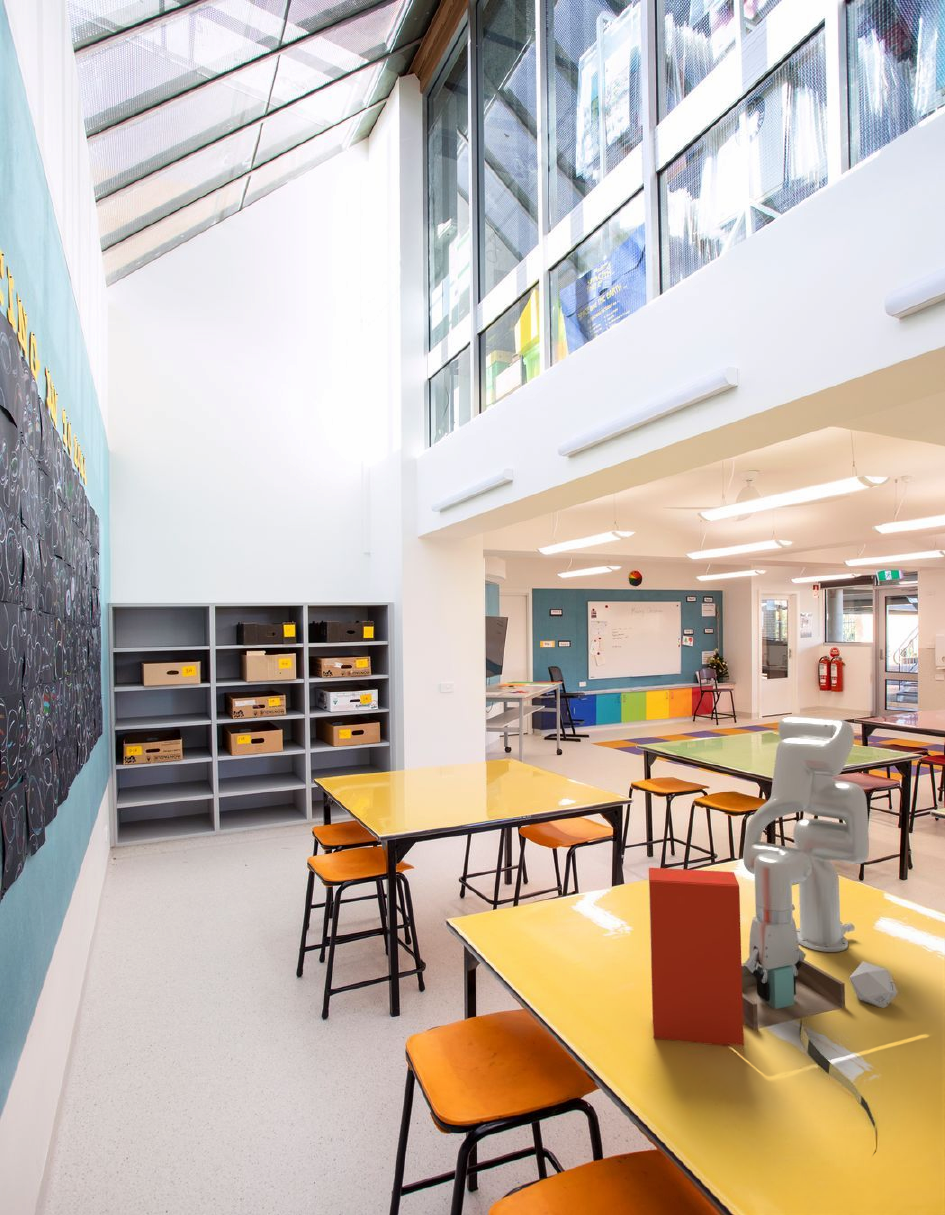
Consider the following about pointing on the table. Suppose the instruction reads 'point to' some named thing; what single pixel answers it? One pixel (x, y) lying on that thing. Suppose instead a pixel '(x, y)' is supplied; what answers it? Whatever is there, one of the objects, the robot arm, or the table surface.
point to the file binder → (696, 956)
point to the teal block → (780, 987)
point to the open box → (810, 999)
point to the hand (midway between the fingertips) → (776, 994)
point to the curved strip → (833, 1071)
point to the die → (873, 984)
